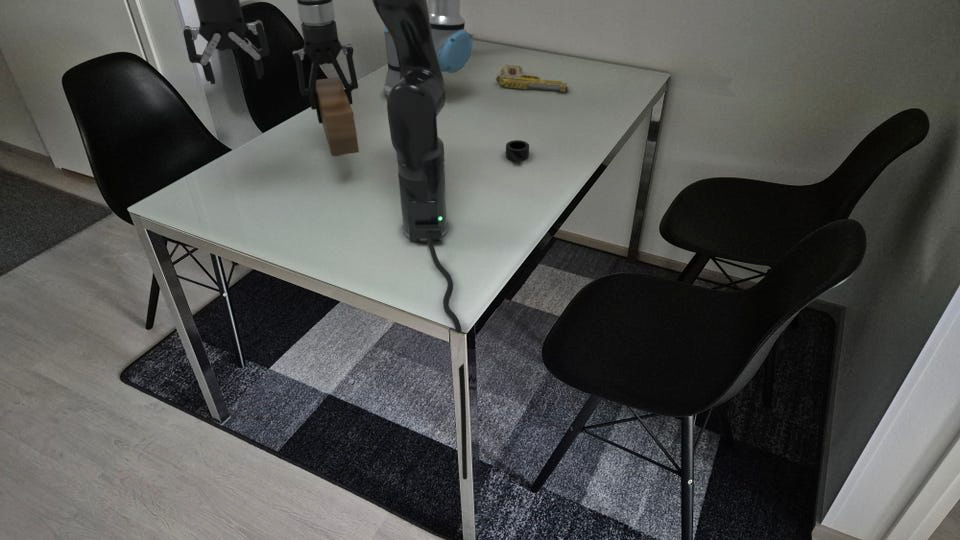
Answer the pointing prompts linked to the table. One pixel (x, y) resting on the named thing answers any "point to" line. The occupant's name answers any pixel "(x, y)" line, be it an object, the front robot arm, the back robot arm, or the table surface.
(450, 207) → the table surface
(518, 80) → the handgun
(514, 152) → the duct tape
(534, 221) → the table surface
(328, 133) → the box
